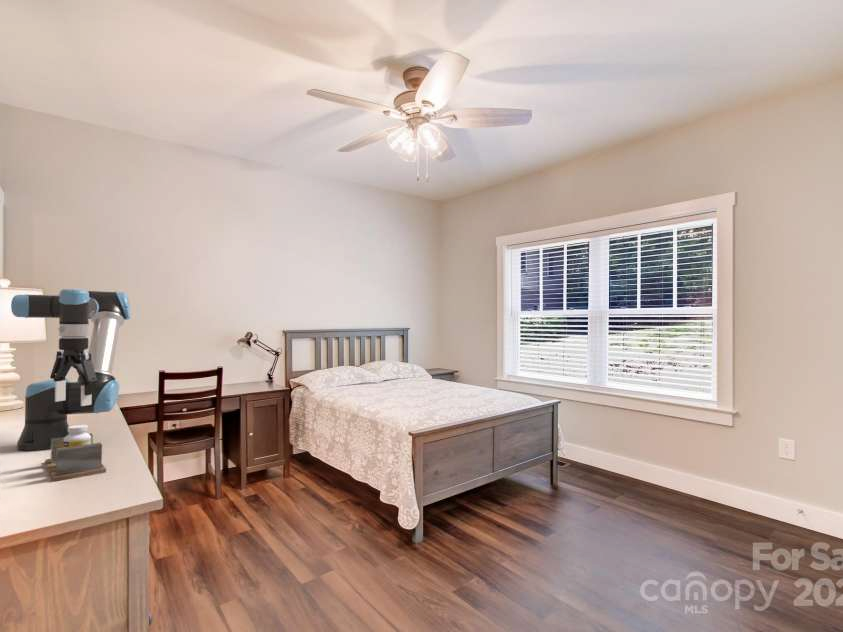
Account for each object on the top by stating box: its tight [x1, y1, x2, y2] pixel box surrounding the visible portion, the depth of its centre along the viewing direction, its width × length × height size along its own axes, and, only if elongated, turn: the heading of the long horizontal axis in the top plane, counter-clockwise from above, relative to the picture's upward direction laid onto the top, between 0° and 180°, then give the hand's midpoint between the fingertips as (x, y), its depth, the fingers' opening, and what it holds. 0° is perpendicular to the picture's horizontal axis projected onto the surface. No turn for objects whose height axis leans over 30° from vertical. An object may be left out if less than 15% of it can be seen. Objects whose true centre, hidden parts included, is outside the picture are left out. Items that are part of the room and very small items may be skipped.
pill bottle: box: [63, 424, 91, 448], centre depth 132 cm, size 6×6×12 cm
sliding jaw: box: [50, 433, 94, 464], centre depth 140 cm, size 7×10×7 cm
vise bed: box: [44, 442, 107, 482], centre depth 134 cm, size 24×12×8 cm, turn 44°
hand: (72, 403), depth 143 cm, fingers open, 13 cm apart
